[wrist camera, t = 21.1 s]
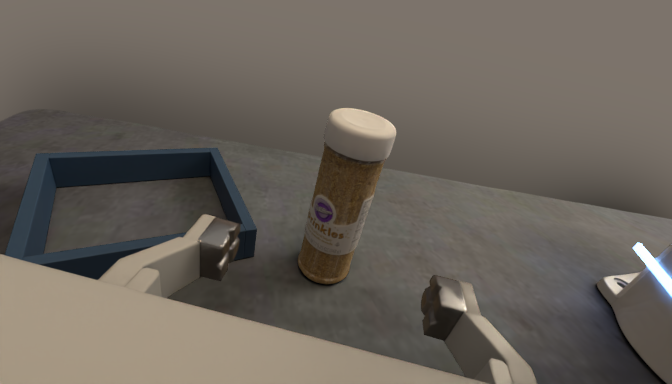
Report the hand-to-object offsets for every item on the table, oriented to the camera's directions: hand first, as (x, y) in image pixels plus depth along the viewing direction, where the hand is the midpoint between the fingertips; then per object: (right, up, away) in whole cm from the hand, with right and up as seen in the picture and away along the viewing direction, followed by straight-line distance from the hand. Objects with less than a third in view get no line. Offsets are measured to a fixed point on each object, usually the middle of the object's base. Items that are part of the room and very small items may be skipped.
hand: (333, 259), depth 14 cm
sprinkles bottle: (-1, -4, +15) cm, 15 cm away
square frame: (-16, +1, +15) cm, 22 cm away
